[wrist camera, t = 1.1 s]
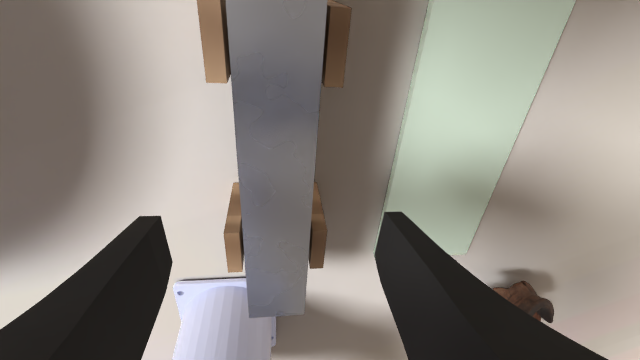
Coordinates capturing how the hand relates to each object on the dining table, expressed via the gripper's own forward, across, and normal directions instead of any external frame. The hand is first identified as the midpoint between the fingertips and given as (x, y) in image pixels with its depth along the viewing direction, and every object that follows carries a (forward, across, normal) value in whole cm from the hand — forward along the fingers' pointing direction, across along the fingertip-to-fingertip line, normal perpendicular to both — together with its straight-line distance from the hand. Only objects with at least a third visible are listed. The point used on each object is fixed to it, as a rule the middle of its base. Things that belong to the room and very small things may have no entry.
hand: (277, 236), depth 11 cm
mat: (+10, -12, +2) cm, 16 cm away
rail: (+7, 0, +1) cm, 7 cm away
